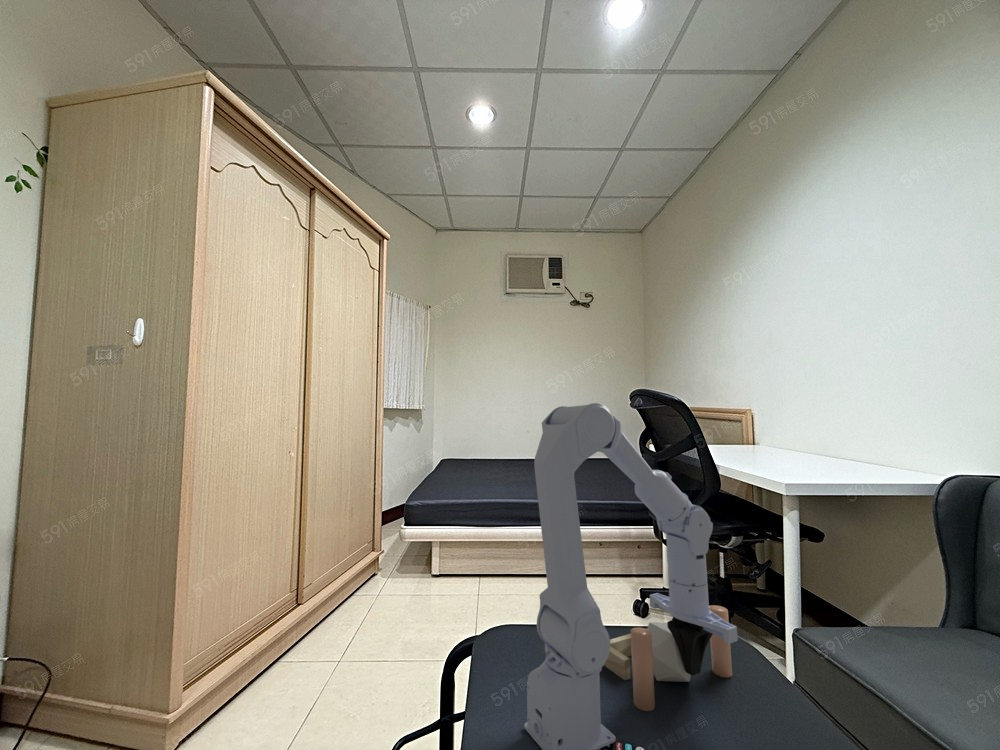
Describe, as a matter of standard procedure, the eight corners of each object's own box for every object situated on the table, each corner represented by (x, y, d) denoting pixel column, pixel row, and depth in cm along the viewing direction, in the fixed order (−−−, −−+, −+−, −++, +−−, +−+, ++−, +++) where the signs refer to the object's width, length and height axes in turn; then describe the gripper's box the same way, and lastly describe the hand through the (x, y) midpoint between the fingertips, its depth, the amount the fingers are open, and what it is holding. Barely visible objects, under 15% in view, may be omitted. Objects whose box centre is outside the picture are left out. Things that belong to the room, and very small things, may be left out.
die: (691, 704, 63) (714, 641, 67) (638, 666, 66) (662, 607, 69) (674, 694, 70) (695, 637, 74) (627, 660, 73) (649, 607, 76)
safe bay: (624, 680, 68) (624, 660, 68) (598, 661, 74) (597, 643, 74) (685, 658, 75) (684, 640, 75) (656, 642, 80) (656, 625, 81)
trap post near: (644, 713, 60) (641, 638, 61) (629, 701, 63) (626, 630, 64) (659, 707, 61) (655, 633, 63) (643, 695, 64) (640, 625, 65)
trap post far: (724, 679, 68) (720, 614, 70) (708, 670, 71) (704, 607, 72) (736, 674, 70) (731, 610, 71) (719, 665, 72) (715, 604, 74)
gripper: (747, 590, 63) (754, 690, 61) (668, 563, 75) (672, 645, 73) (716, 599, 59) (723, 704, 57) (639, 569, 72) (643, 655, 70)
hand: (692, 672), depth 65 cm, fingers closed
